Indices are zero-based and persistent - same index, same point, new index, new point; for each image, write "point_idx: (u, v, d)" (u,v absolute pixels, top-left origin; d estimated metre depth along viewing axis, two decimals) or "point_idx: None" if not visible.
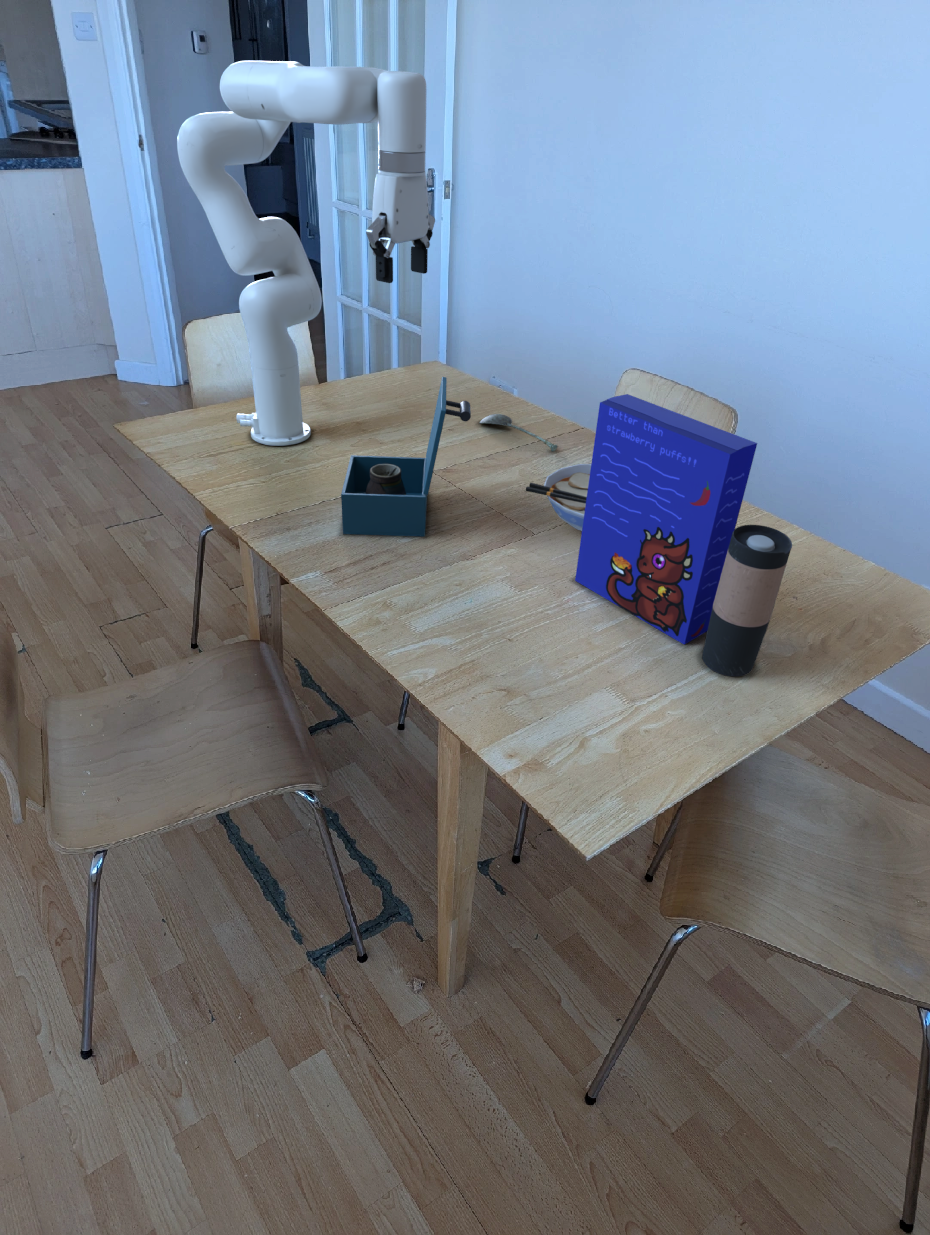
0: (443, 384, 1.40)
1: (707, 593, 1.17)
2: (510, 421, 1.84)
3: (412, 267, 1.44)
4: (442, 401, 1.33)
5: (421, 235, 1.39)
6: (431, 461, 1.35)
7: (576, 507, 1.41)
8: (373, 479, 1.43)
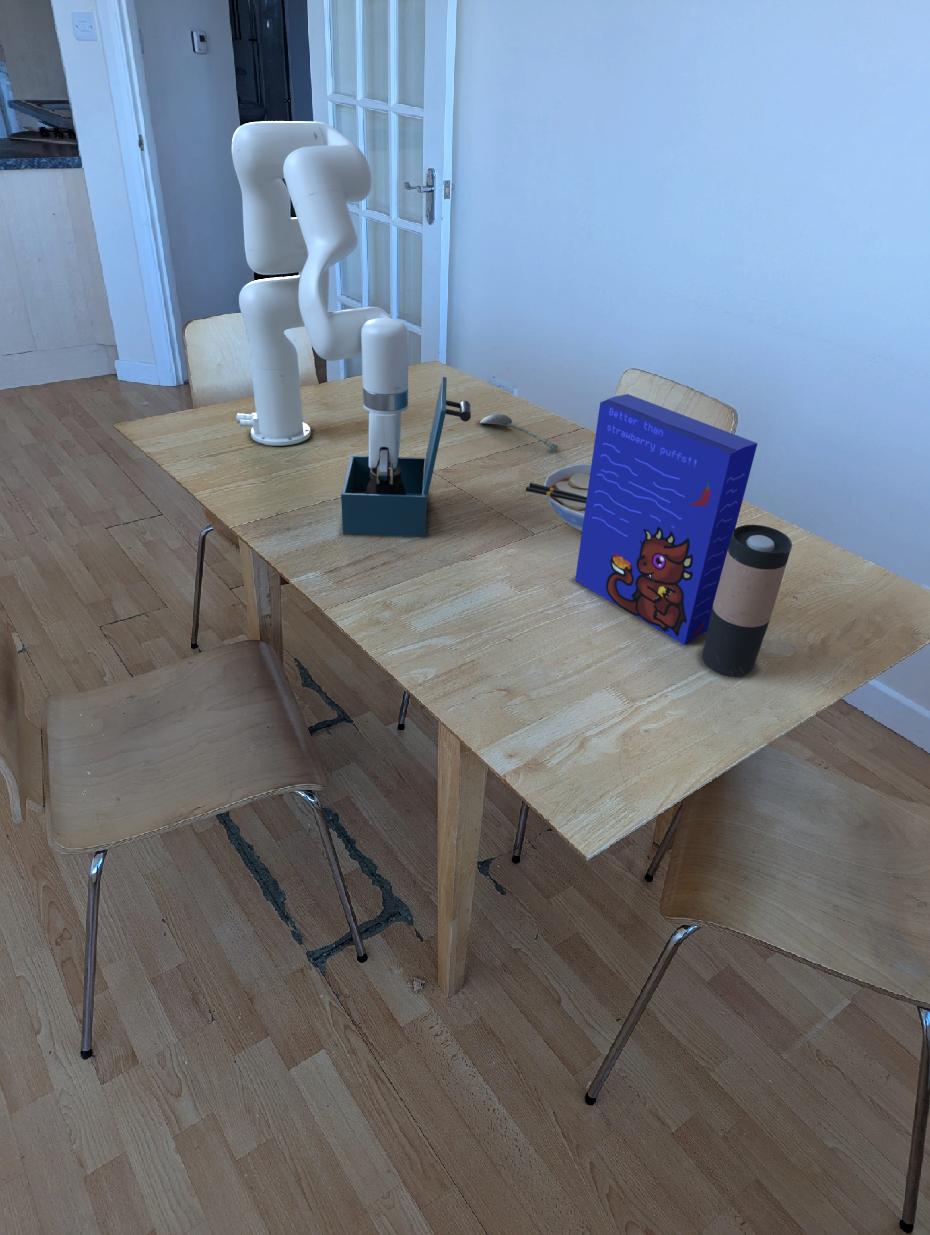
0: (443, 384, 1.40)
1: (707, 593, 1.17)
2: (510, 421, 1.84)
3: None
4: (442, 401, 1.33)
5: None
6: (431, 461, 1.35)
7: (576, 507, 1.41)
8: (373, 479, 1.43)
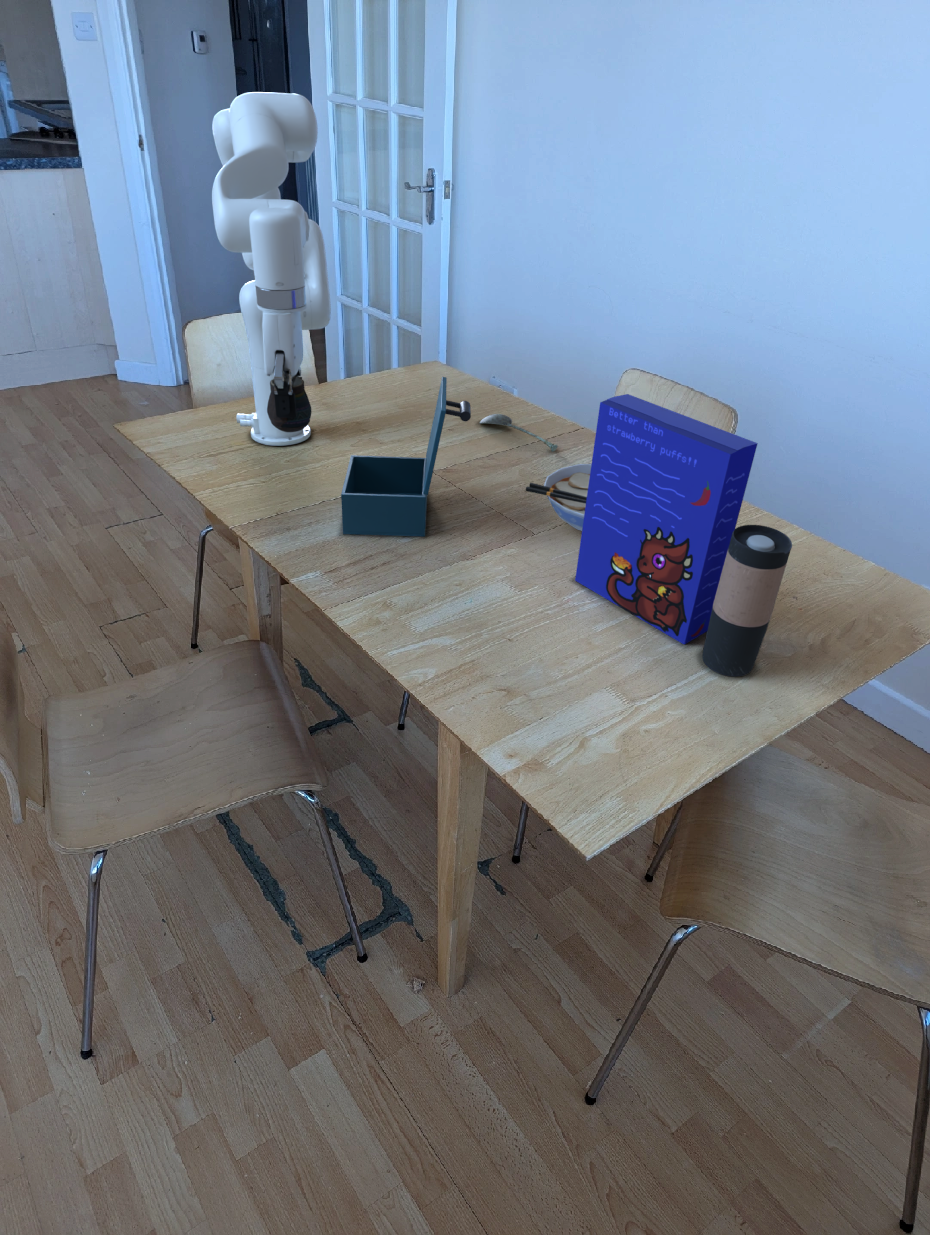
0: (443, 384, 1.40)
1: (707, 593, 1.17)
2: (510, 421, 1.84)
3: None
4: (442, 401, 1.33)
5: (301, 361, 1.35)
6: (431, 461, 1.35)
7: (576, 507, 1.41)
8: (273, 391, 1.33)
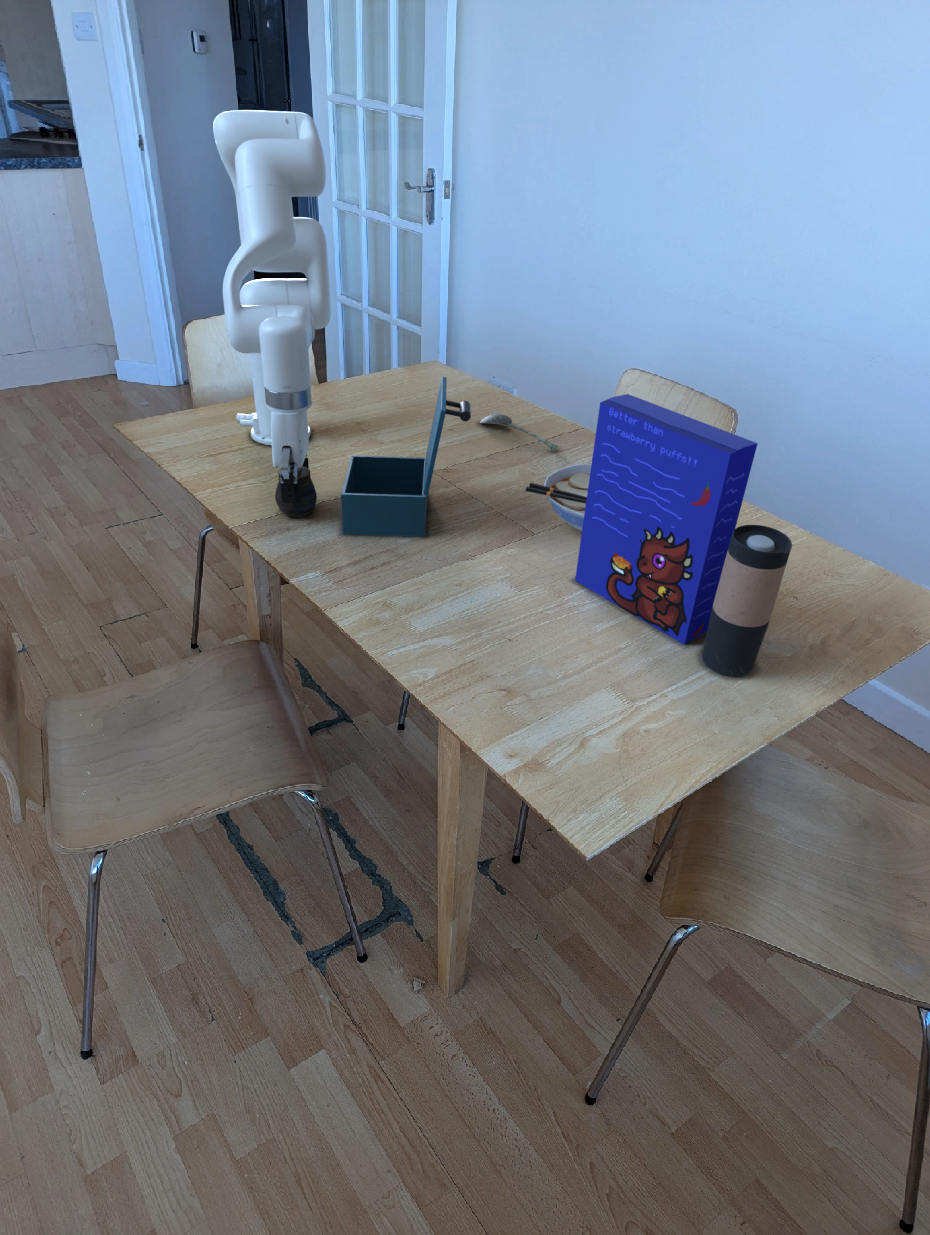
0: (443, 384, 1.40)
1: (707, 593, 1.17)
2: (510, 421, 1.84)
3: None
4: (442, 401, 1.33)
5: (307, 450, 1.44)
6: (431, 461, 1.35)
7: (576, 507, 1.41)
8: None
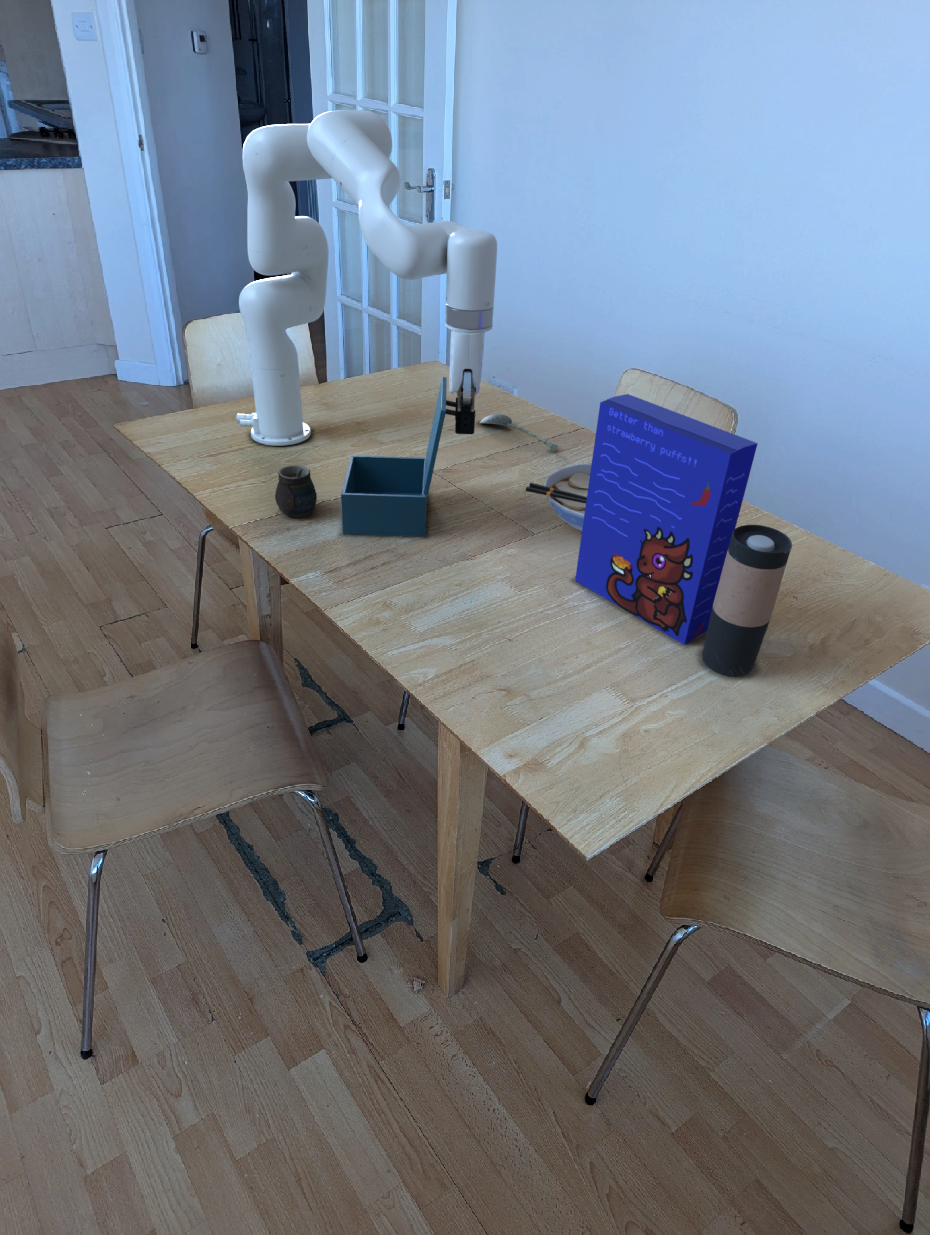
0: (443, 384, 1.40)
1: (707, 593, 1.17)
2: (510, 421, 1.84)
3: None
4: (442, 401, 1.33)
5: None
6: (431, 461, 1.35)
7: (576, 507, 1.41)
8: (281, 480, 1.43)
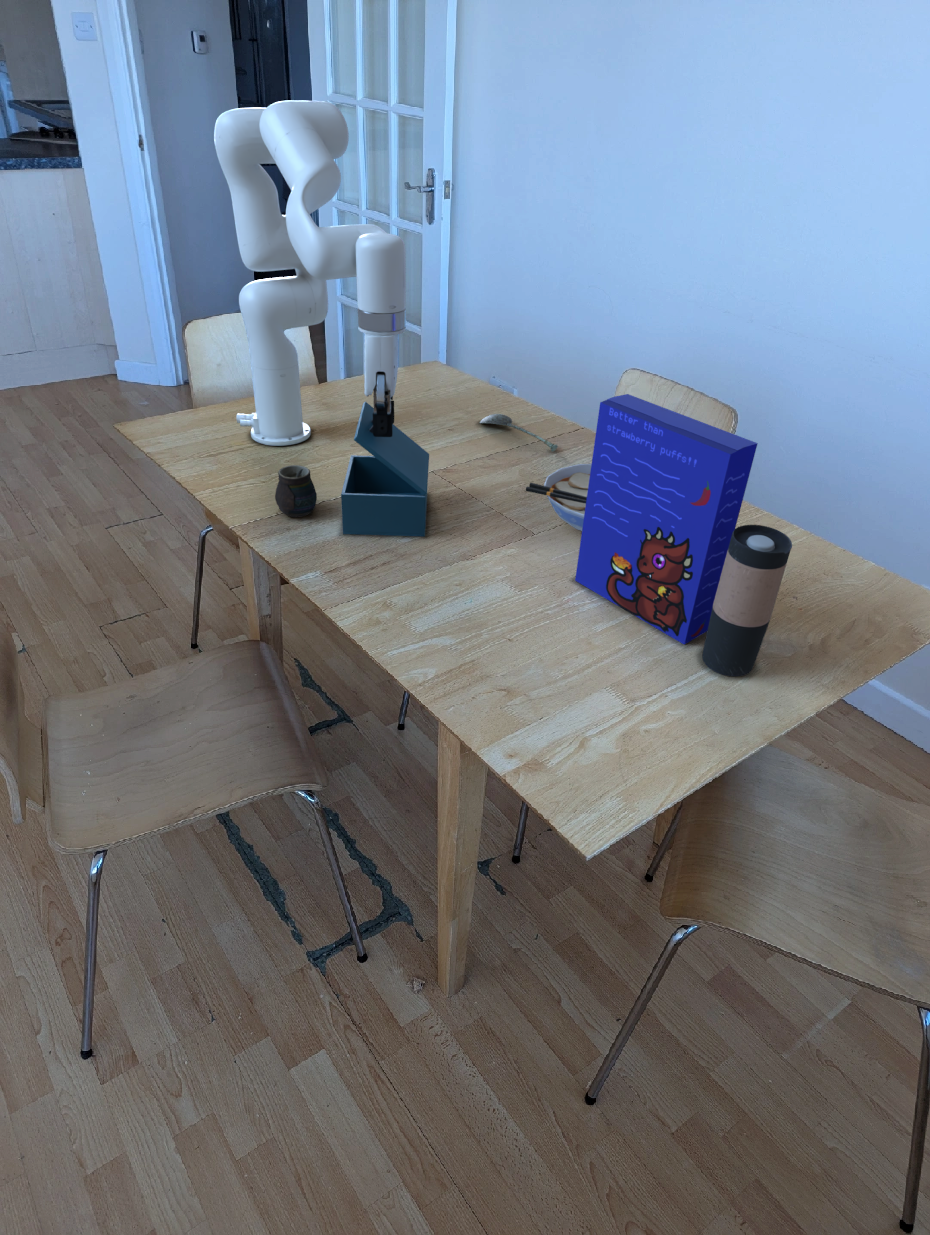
0: (361, 411, 1.42)
1: (707, 593, 1.17)
2: (510, 421, 1.84)
3: None
4: (356, 429, 1.36)
5: None
6: (396, 473, 1.36)
7: (576, 507, 1.41)
8: (281, 480, 1.43)
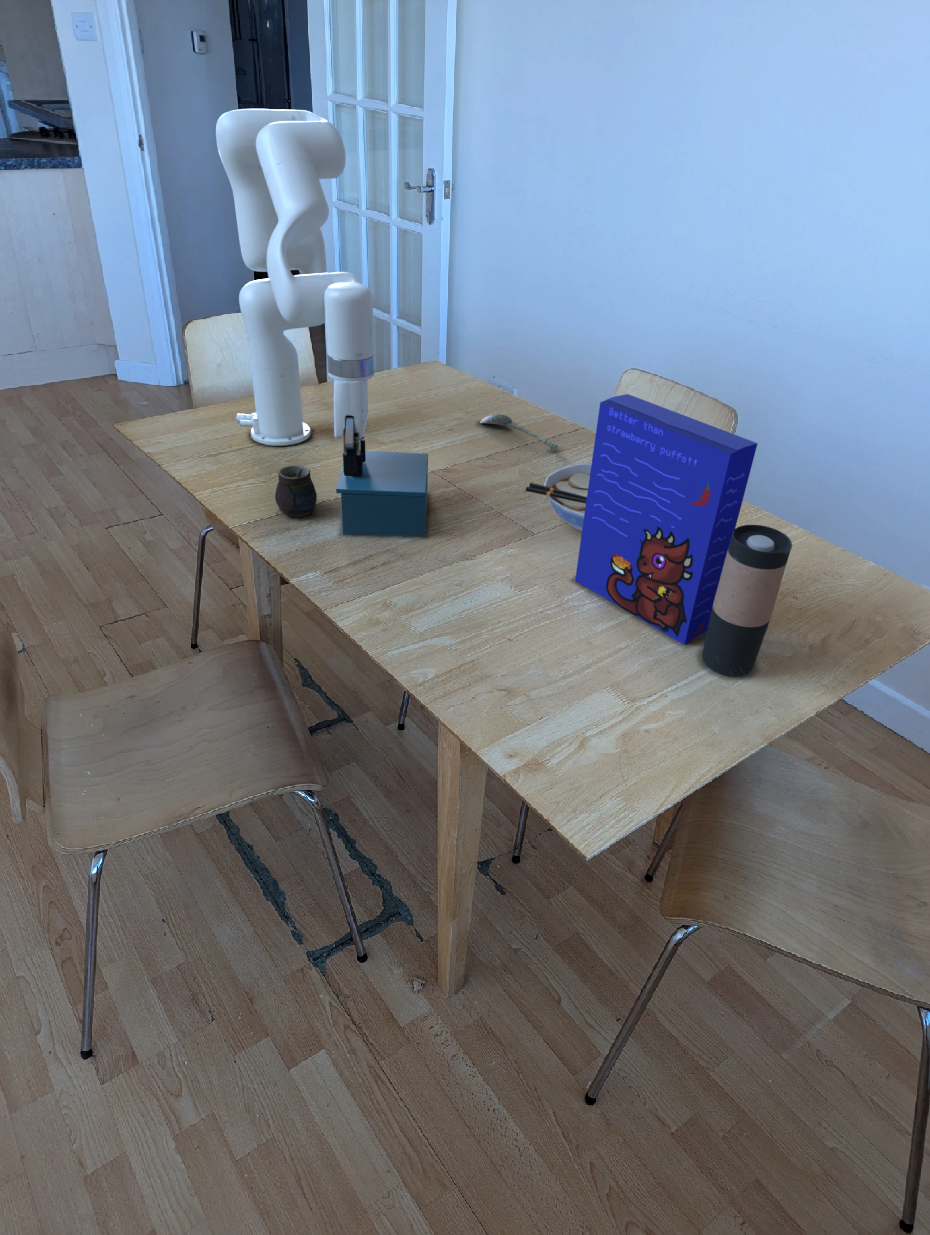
0: None
1: (707, 593, 1.17)
2: (510, 421, 1.84)
3: None
4: None
5: None
6: (389, 494, 1.38)
7: (576, 507, 1.41)
8: (281, 480, 1.43)
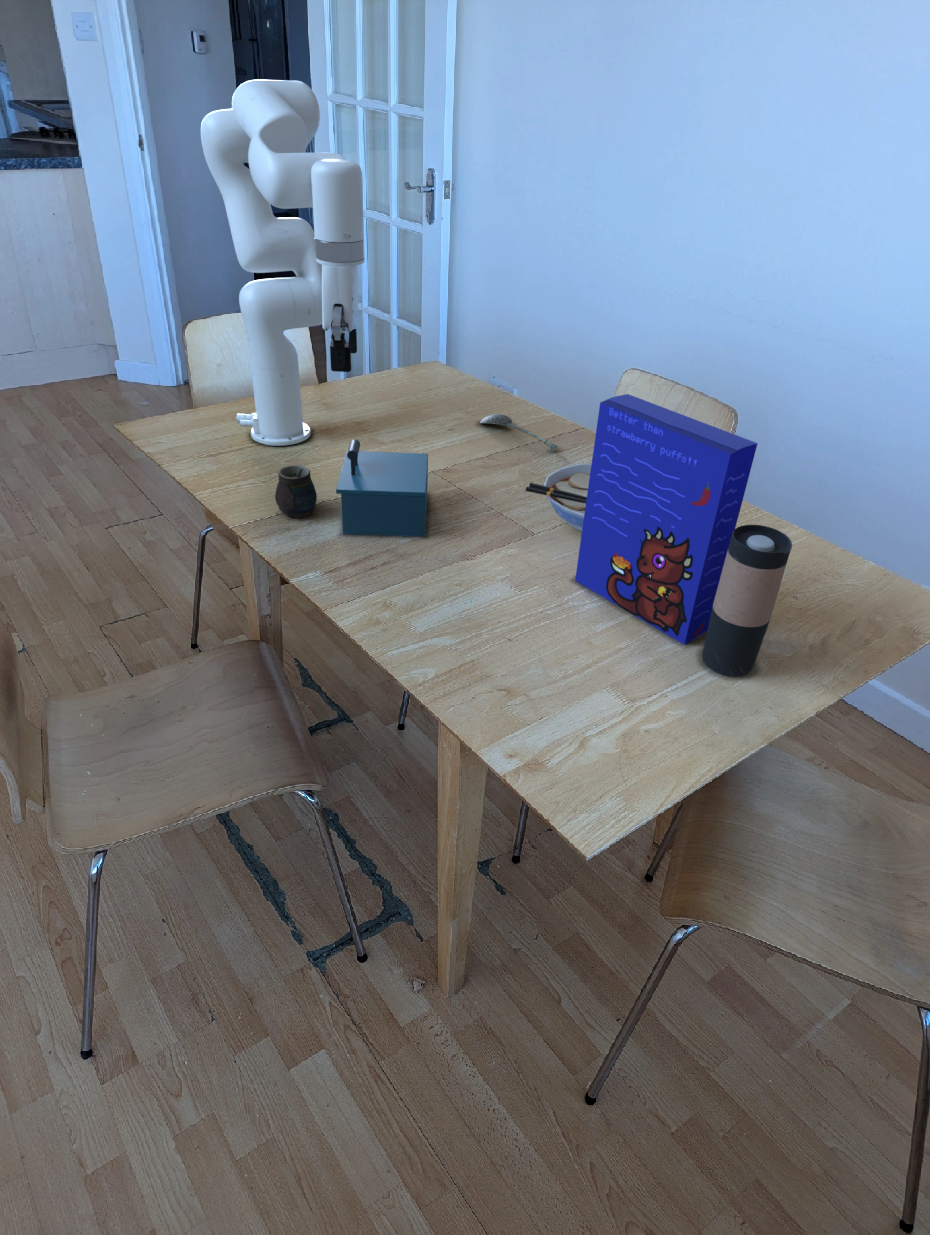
0: None
1: (707, 593, 1.17)
2: (510, 421, 1.84)
3: None
4: None
5: None
6: (389, 494, 1.38)
7: (576, 507, 1.41)
8: (281, 480, 1.43)
